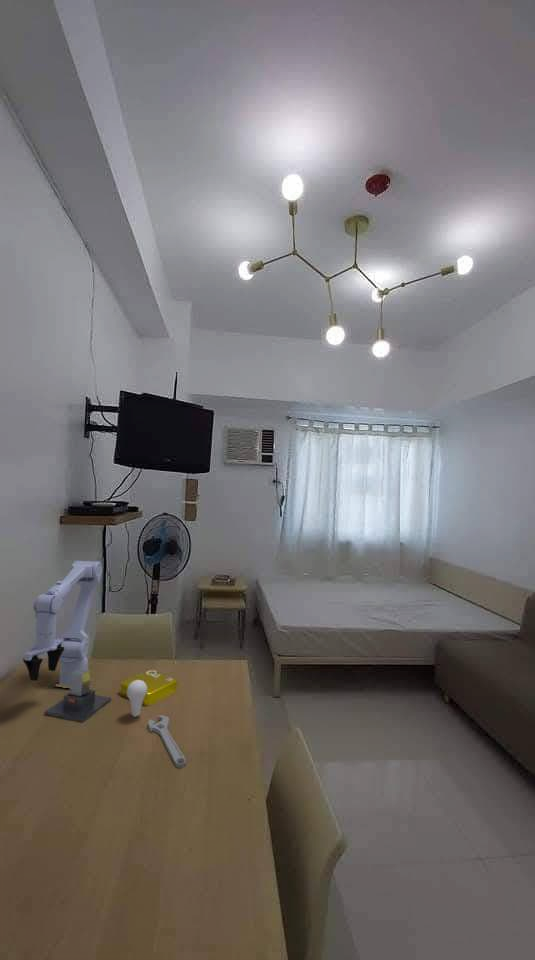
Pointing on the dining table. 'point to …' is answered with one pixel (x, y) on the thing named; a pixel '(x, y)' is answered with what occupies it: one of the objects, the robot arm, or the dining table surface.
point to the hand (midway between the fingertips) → (43, 674)
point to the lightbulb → (136, 695)
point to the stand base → (78, 706)
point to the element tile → (152, 686)
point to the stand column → (80, 682)
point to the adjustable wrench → (167, 739)
